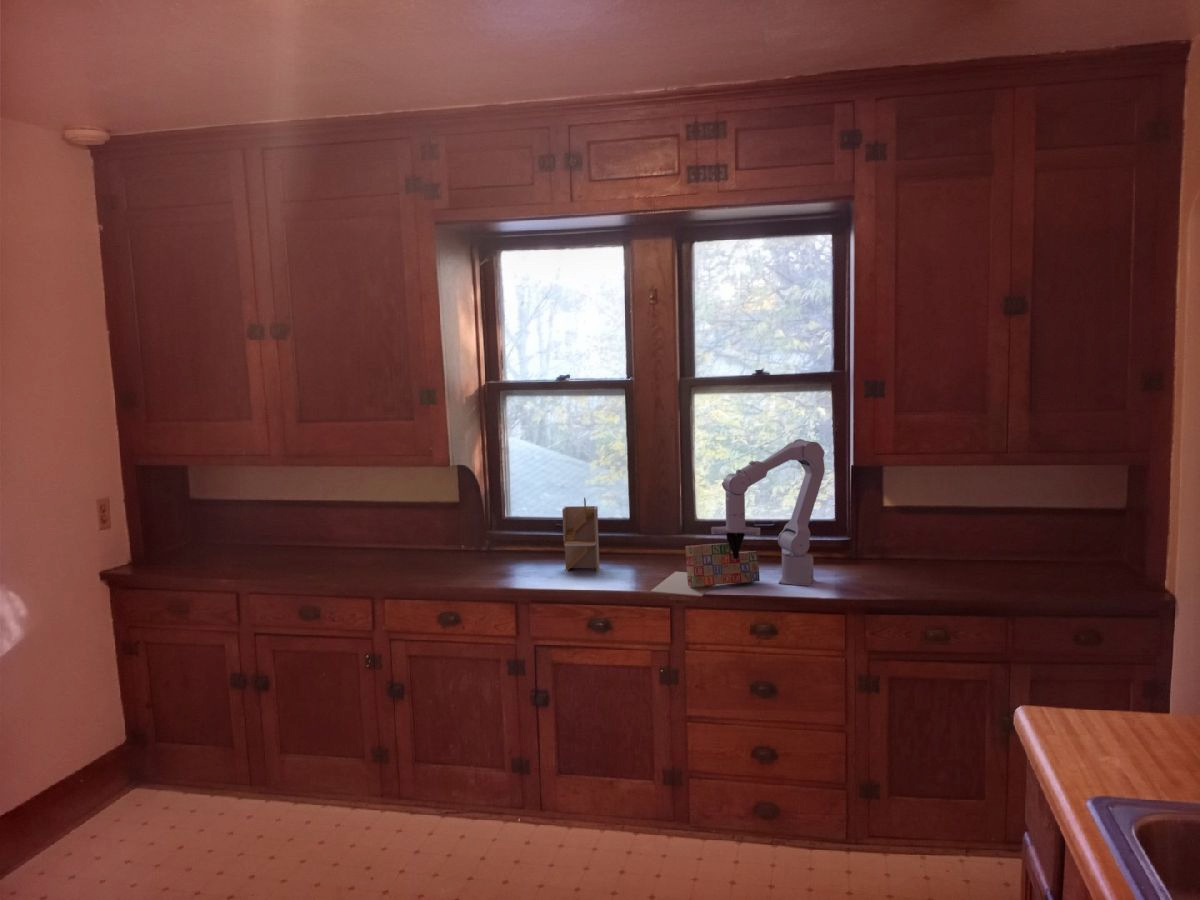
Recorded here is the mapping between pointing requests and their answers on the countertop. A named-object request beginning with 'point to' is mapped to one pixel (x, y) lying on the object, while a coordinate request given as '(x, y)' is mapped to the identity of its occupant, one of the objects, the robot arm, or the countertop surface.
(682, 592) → the mat
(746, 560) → the stack of blocks
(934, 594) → the countertop surface
